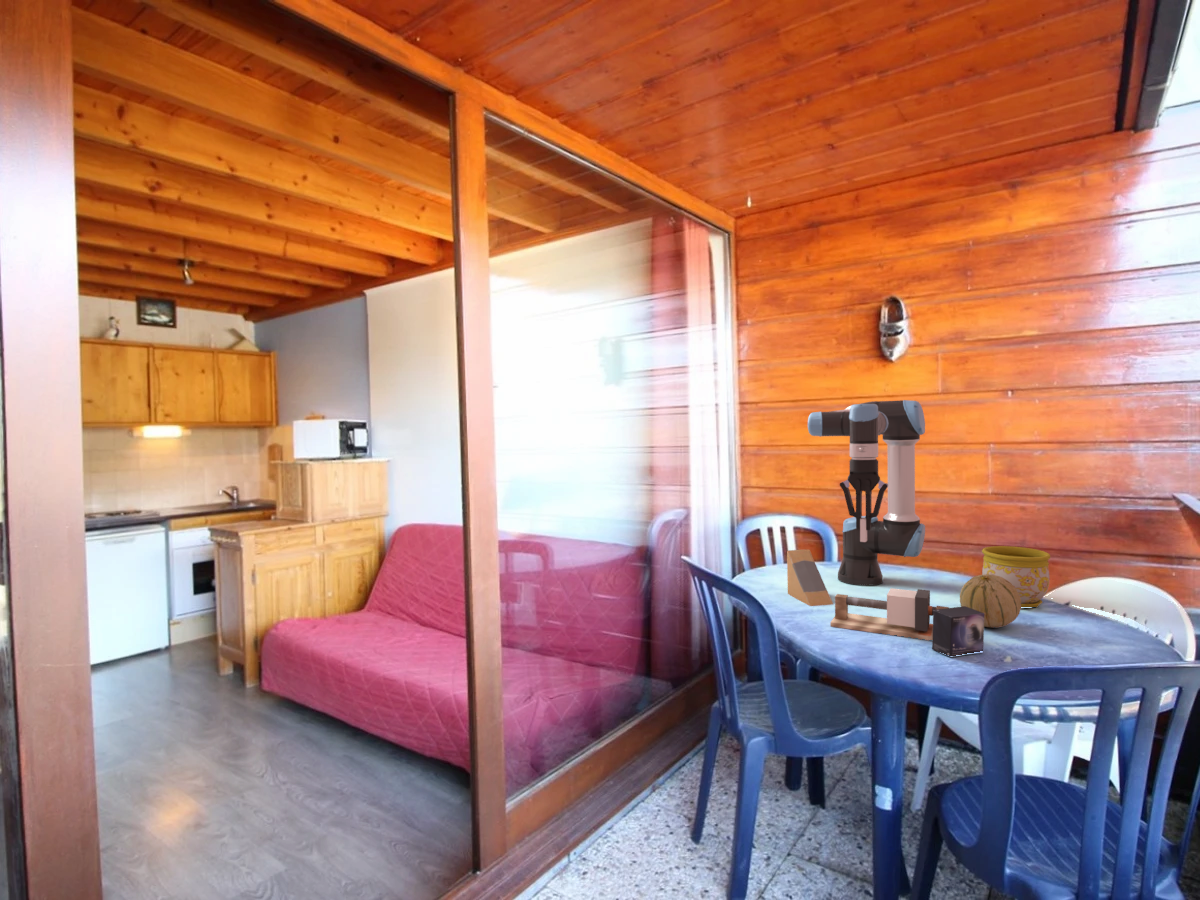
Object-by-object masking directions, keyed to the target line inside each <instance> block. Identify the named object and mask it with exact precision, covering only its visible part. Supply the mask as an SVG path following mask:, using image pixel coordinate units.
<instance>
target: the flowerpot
mask: <svg viewBox="0 0 1200 900" xmlns="http://www.w3.org/2000/svg"><path fill="white" fill-rule="evenodd" d="M981 553H982V554H983V557H982V559H983V563H982V572H981V573H982V574H981V575H985V574H991V575H996V576H1000V577H1002V578H1004V579H1006V580H1008V581H1009V582H1010V583H1011V584H1012V585H1013V586H1014V587H1015V588H1016V590H1017V592H1018V594H1019V596H1020V599H1021V607H1036V608H1038V607H1039V606H1040V605H1041V604H1043V600H1042V599H1043V597H1044V596H1045V595H1046V594H1047V592H1048V590H1049V588H1050V570H1049V565H1050V563H1049V560H1050V559H1051V554H1050V553H1048V552H1046V551H1045V550H1040V549H1036V548H1029V547H1023V546H1021V547H1020V546H1010V545H1009V546H1008V545H995V546H986V547H984V548H982V550H981Z"/></svg>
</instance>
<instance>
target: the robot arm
mask: <svg viewBox="0 0 1200 900" xmlns="http://www.w3.org/2000/svg"><path fill="white" fill-rule="evenodd" d="M807 430H808V433H809V435H811V436H813V437H849V457H850V458H851V459H849V474H848V476H847V479H846V480H844V481H841V482H840V483H839V487H840V488H841V490H842V491H843V494H844V499H845V503H846V507H847V511H848V515H849V516H851V517H848V518H845V519H844V520H843V524H842V525H843V526H842V560H841V563H840V565H839V569H838V572H837V580H839V582H842V583H843V584H844V583H845V584H849V585H856V586H877V585H881V584H883V582H884V581H883V580H884V578H883V573H882V569H881V567H880V563H879V561H878V555H889V556H898V557H904V558H906V557H907V558H909V557H910V558H911V557H913V558H916V557H919V555H920V554H921V552H922V549H923V547H924V542H925V537H926V525H925V524H924V523H921V519H920V517H919V515H917V514H916V476H915V475H916V469H915V468H916V461H915V460H916V453H915V452H916V451H915V449H916V444H917V443H918V442H919V441H920V439H921V438H920V437H921V436H922V435H924V434H925V432H926V420H925V413H924V411H923V407H922V405H921V403H920V402H919V401H917V400H909V399H906V400H905V399H903V400H880V401H878V400H876V401H868V402H862V403H859V404H857V403H855V404H851V405H850V406H847V407H846V408H845V409H839V410H829V411H816V412H815V411H814V412H811V413H810V414H809V416H808V418H807ZM881 435H882V441H883V442H884V443H885V444H886V445H887V448H886V449H887V482H886V483H885V482H884V481H883V480H881V477H880V475H879V459H877V458H878V457H879V436H881ZM850 485H851V486H852V488H853V489H854V490H855V507H854V502H853V498H852V494H851V491H850V489H849V487H850ZM877 485H878V487H877V488H878V489H879V490H878V492H877V496H876V501H875V502H874V503H875V505H874V508H873V510H872V495H873V494H872V493H873V492H872V491H873V490H874V489H875V488H876V486H877ZM886 490H887V513H886V514H885V515H883V517H882V520H879V518H878V516H879V513H880V509H881V505H882V502H883V498H884V495H885V491H886ZM863 492H865V495H864V496H865V515H863V514H862V513H863V508H862V507H863V503H862V502H863V496H862V495H863ZM872 511H873V512H872Z"/></svg>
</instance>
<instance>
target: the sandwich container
mask: <svg viewBox="0 0 1200 900" xmlns="http://www.w3.org/2000/svg"><path fill="white" fill-rule="evenodd" d="M786 565H787V570H786V571H787V577H786V578H787V595H788V596H791V597H792V598H794V599H796V600H798V601H800V602H802V603H804V604H806V605H808V606H809V607H819V606H830V605H831V606H832V605H834V603H833V600H832V598H831V596H830V594H829V591H828V589H827V587H826V585H825V583H824V580H823V578H822V576H821V574H820V571H819V569H818V566H817V564H816V562H815V559H814V557H813V554H812V552H811V549H792V550H791V549H790V550H787V552H786Z"/></svg>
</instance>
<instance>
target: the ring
mask: <svg viewBox="0 0 1200 900" xmlns="http://www.w3.org/2000/svg"><path fill="white" fill-rule="evenodd" d="M916 591H917V593H916V596H915V630H919V631H926V632H927V631H928V627H929V624H931V623H930V622H931V621H930V618H931V616H929V615H928V606H931V590H930V589H920V588H917V590H916Z"/></svg>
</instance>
